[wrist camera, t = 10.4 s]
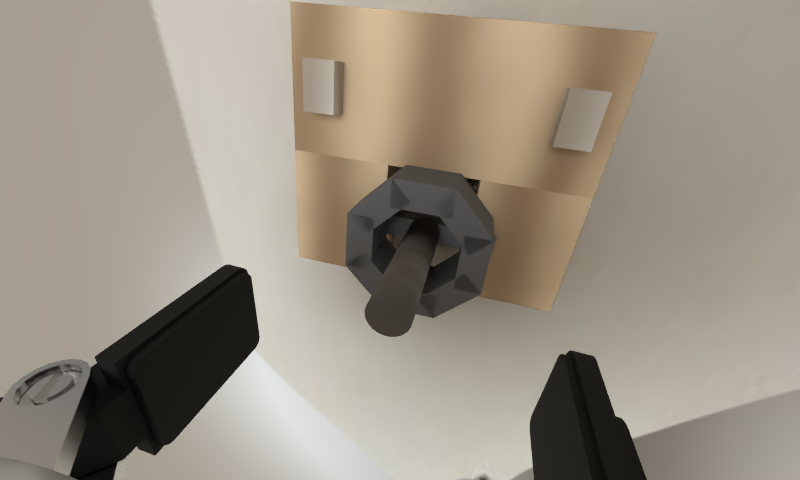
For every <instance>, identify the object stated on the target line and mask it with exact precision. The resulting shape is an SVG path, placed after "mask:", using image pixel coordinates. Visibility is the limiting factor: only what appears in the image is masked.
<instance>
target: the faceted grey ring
mask: <svg viewBox="0 0 800 480" xmlns="http://www.w3.org/2000/svg"><path fill="white" fill-rule="evenodd" d="M401 209H402V210H407V211H413V212H418V213H424V214H429V215H434V216H439V217H440V218H441V219H442V221H443V222H444V223H445V225H446V226H447V227H448V229H449V230H450V231H451V233H452V234H453V235H454V237H455V238H456V239H457V241H458V242H459V243H460V245H461V247H460V252H459V253H457V254H455V255H453V256H452V257H450V258H448V259H446V260H445V261H443V262H441V263H439V264H438V265H436V266H430V268H429V271H428V274H427V278H426V281H425V284H424V287H423V290H422V293H421V297H420V300H419V303H418V306H417V309H416V313H415V314H419V315H423V316H427V317H432V318H434V317H436V316H438V315H440V314H442V313H444V312H446V311H448V310H450V309H452V308H454V307H456V306H458V305H460V304H462V303H464V302H466V301H468V300H470V299H473V298H475V297H477V296H479V295H481V292H482V288H483V285H484V281H485V277H486V273H487V269H488V265H489V261H490V257H491V253H492V250H493V246H494V242H495V237H494V218H493V217H492V215H491V214H490V213H489V211H488V210H487V208H486V207H485V206H484V204H483V203H482V201H481V200H480V199H479V197H478V196H477V194H476V193H475V192H474V190H473V189H472V187H471V186H470V185H469V183H468V182H467V180H466V179H465V178H464V176H463V175H462V174H461V173H454V172H448V171H442V170H436V169H430V168H423V167H417V166H411V165H405V166H404V167H403V168H401V169H400V170H399V171H398V172H396V173H395V174H394V175H392V176H391V177H390V178H388V179H387V180H386V181H385V182H383V183H382V184H381V185H379V186H378V187H377V188H375V189H374V190H373V191H372V192H370V193H369V194H368V195H366V196H365V197H364V198H363V199H362V200H361V201H360V202H359V203H357V204H356V205H355V206H354V207H353V208H352V209H351V210H350V211H349V212H348V213H347V232H346V260H345V265H346V266H347V267H348V269H349V270H350V271H351V272H352V273H353V274H354V276H355V277H356V278H357V279H358V280H359V281H360V283H361V284H362V285H363V286H364V287H365V288H366V290H367V291H368V292H369V293H370V294H371V295H372V294H373V293H374V291H375V289H376V287H377V285H378V283H379V282H380V280H381V278H382V276H383V274H384V272H385V271H386V269H387V267H388V265H389V263H390V261H391V260H392V258H393V256H394V254H395V252H396V249H395V248H394V246H393V245H392V244H391V243H390V241H389V240H388V239H387V238H386V236H387V225H388V218H390V217H391V216H393V215H394V214H395V213H397V212H398V211H400V210H401Z"/></svg>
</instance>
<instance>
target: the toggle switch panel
mask: <svg viewBox="0 0 800 480" xmlns="http://www.w3.org/2000/svg"><path fill="white" fill-rule="evenodd" d="M290 4H291V34H292V64H293V93H294V123H295V153H296V182H297V212H298V242H299V257H304V258H308V259H313V260H317V261H322V262H326V263H331V264H335V265H340V266H344V267H347V266H346V265H345V260H346V232H347V213H348V212H349V211H350V210H351V209H352V208H353V207H354V206H355V205H356V204H357V203H359V202H360V201H361V200H362V199H363V198H364V197H365V196H366V195H368V194H369V193H370V192H372V191H373V190H374V189H375V188H377V187H378V186H379V185H381V184H382V183H383V182H385V181H386V180H387V179H388V178H390V177H391V176H392V175H394V174H395V173H396V172H398V171H399V167H404V166H405V165H411V166H417V167H423V168H430V169H436V170H442V171H448V172H454V173H461V174H462V175H463V176H464V178H470V179H476V180H479V182H478V186H477V191H476V194H477V196H478V197H479V199H480V200H481V201H482V203H483V204H484V206H485V207H486V208H487V210H488V211H489V213H490V214H491V215H492V217H493V218H494V237H495V242H494V246H493V250H492V253H491V257H490V261H489V265H488V269H487V273H486V277H485V281H484V285H483V288H482V292H481V295H479V296H481V297H485V298H490V299H494V300H499V301H503V302H508V303H512V304H517V305H521V306H526V307H531V308H535V309H540V310H544V311H549V312H550V310H551V308H552V305H553V303H554V300H555V297H556V295H557V292H558V290H559V287H560V284H561V282H562V279H563V276H564V274H565V271H566V269H567V266H568V263H569V261H570V258H571V256H572V253H573V250H574V248H575V245H576V243H577V240H578V237H579V235H580V232H581V229H582V227H583V224H584V222H585V219H586V216H587V214H588V211H589V209H590V206H591V203H592V201H593V198H594V196H595V193H596V190H597V188H598V185H599V182H600V180H601V177H602V175H603V172H604V169H605V167H606V164H607V162H608V159H609V156H610V154H611V151H612V149H613V146H614V143H615V141H616V138H617V135H618V133H619V130H620V128H621V125H622V122H623V120H624V117H625V115H626V112H627V109H628V107H629V104H630V101H631V99H632V96H633V94H634V91H635V88H636V86H637V83H638V81H639V78H640V75H641V73H642V70H643V68H644V65H645V62H646V60H647V57H648V54H649V52H650V49H651V47H652V44H653V41H654V39H655V36H656V34H657V33H653V32H642V31H630V30H618V29H607V28H595V27H583V26H571V25H560V24H548V23H536V22H525V21H513V20H501V19H490V18H478V17H466V16H454V15H443V14H431V13H419V12H408V11H396V10H384V9H372V8H361V7H349V6H337V5H326V4H314V3H302V2H291V1H290ZM392 235H395V236H400V237H404V238H403V239H402V241H401V243H400V245H399V247H398V249H397V250H396V252H395V254H394V256H393V258H392V260H391V261H390V263H389V265H388V267H387V269H386V271H385V272H384V274H383V276H382V278H381V280H380V282H379V283H378V285H377V287H376V289H375V291H374V293H373V294H372V296H371V298H370V300H369V302H368V304H367V305H366V308H365V318H366V320H367V322H368V324H369V325H370V326H371V327H372V329H374V330H375V331H376V332H378V333H380V334H382V335H385V336H390V337H396V336H401V335H403V334H405V333H406V332H408V330H409V329H410V328H411V325H412V322H413V319H414V316H415V313H416V309H417V306H418V303H419V300H420V297H421V293H422V290H423V287H424V284H425V281H426V278H427V274H428V271H429V268H430V265H431V262H432V258H433V255H434V252H435V249H436V246H437V244H440V245H445V246H450V247H455V248H460V247H461V245H460V243H459V242H458V241H457V239H456V238H455V237H454V235H453V234H452V233H451V231H450V230H449V229H448V227H447V226H446V225H445V223H444V222H443V221H442V219H441V218H435V217H430V216H424V215H419V214H414V213H408V212H403V211H398V212H397V213H395V214H394V215H393V216H391V217H390V218H388V225H387V236H386V238H387V239H388V240H389V241H390V243H391V242H392Z"/></svg>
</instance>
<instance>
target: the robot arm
mask: <svg viewBox="0 0 800 480" xmlns="http://www.w3.org/2000/svg"><path fill="white" fill-rule="evenodd" d="M258 342H259V330H258V322H257V315H256V308H255V301H254V294H253V287H252V280H251V276H250V275H249V274H248V272H247V270H246V269H244V268H240V267H236V266H232V265H225V266H223V267H221V268H220V269H218V270H217V271H216V272H214V273H213V274H211V275H210V276H208V277H207V278H206V279H204V280H203V281H202V282H200V283H199V284H197V285H196V286H194V287H193V288H191V289H190V290H189V291H187V292H186V293H184V294H183V295H182V296H180V297H179V298H177V299H176V300H175V301H173V302H172V303H171V304H169V305H168V306H166V307H165V308H163V309H162V310H160V311H159V312H158V313H156V314H155V315H153V316H152V317H150V318H149V319H148V320H146V321H145V322H143V323H142V324H140V325H139V326H138V327H136V328H135V329H133V330H132V331H131V332H129V333H128V334H126V335H125V336H124V337H122V338H121V339H119V340H118V341H117V342H115V343H114V344H112V345H111V346H109V347H108V348H106V349H105V350H104V351H102V352H101V353H99V354H98V355H97V356H95V359H96V361H97V364H95V365H94V366H93V367H91V368H90V366H89V364H88V363H87V362H85V361H83V360H78V359H68V360H61V361H57V362H54V363H50V364H47V365H45V366H43V367H40V368H38V369H36V370H34V371H33V372H31V373H29V374H27V375H26V376H24V377H22V378H21V379H20V380H19V381H17V382H16V383H15V384H14V385H12V387H11V388H10V389H9V390H8V392H7V393H6V394H5V396H4V397H2V398H0V480H123V478H124V473H125V469H126V465H127V460H128V455H129V453H131V452H132V450H133V449H134V448H135V447H136V446H137V447H138V449H140V450H142V451H145V452H147V453H150V454H153V455H156V454H157V453H158V452H159V451H160V450H161V449H162V447H163V446H164V445H167V444H170V443H171V442H172V441H173V440H174V439H175V438H176V437H177V436H178V435H179V434H180V433H181V432H182V431H183V429H184V428H185V427H186V426H187V425H188V424H189V423H190V422H191V420H192V419H193V418H194V417H195V416H196V415H197V414H198V412H199V411H200V410H201V409H202V408H203V407H204V406H205V404H206V403H207V402H208V401H209V400H210V399H211V398H212V397H213V395H214V394H215V393H216V392H217V391H218V389H220V387H221V386H222V385H223V384H224V383H225V382H226V381H227V380H228V378H229V377H230V376H231V375H232V374H233V373H234V372H235V370H236V369H237V368H238V367H239V366H240V365H241V364H242V362H243V361H244V360H245V359H246V358H247V357H248V356H249V355H250V353H251V352H252V351H253V350H254V349H255V348H256V346H257V344H258ZM530 437H531V449H532V460H533V472H534V480H647V479H646V476H645V474H644V471H643V468H642V465H641V463H640V460H639V457H638V454H637V452H636V449H635V446H634V443H633V440H632V438H631V435H630V432H629V429H628V427H627V425H626V423H625V422H624V421H623V420H622V419H621V418H619V417H616V416H615V414H614V411H613V408H612V405H611V402H610V399H609V396H608V393H607V390H606V387H605V384H604V381H603V379H602V376H601V373H600V370H599V367H598V364H597V361H596V359H595V357H593V356H591V355H587V354H583V353H579V352H575V351H569V352H568V353H567V354H566V355H564V354H560V355H559V357H558V359H557V361H556V363H555V366H554V368H553V370H552V372H551V374H550V377H549V379H548V381H547V383H546V385H545V388H544V390H543V392H542V394H541V396H540V399H539V401H538V403H537V405H536V407H535V410H534V412H533V414H532V417H531V420H530Z"/></svg>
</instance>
